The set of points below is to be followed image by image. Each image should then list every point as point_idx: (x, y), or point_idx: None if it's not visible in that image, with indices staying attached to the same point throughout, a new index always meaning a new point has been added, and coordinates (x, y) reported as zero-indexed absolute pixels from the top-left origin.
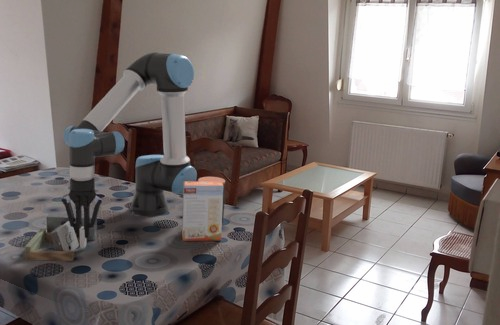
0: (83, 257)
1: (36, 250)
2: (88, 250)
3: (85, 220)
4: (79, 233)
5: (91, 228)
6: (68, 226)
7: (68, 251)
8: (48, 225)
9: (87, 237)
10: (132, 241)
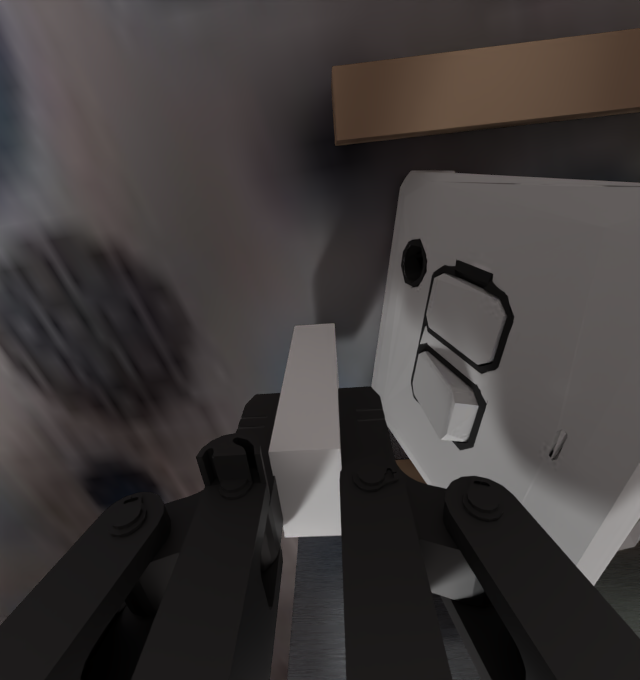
0: (261, 196)
1: None
2: (277, 342)
3: (203, 631)
4: (347, 420)
5: (318, 576)
6: (532, 505)
7: (396, 125)
8: None
9: (258, 396)
10: (69, 504)
